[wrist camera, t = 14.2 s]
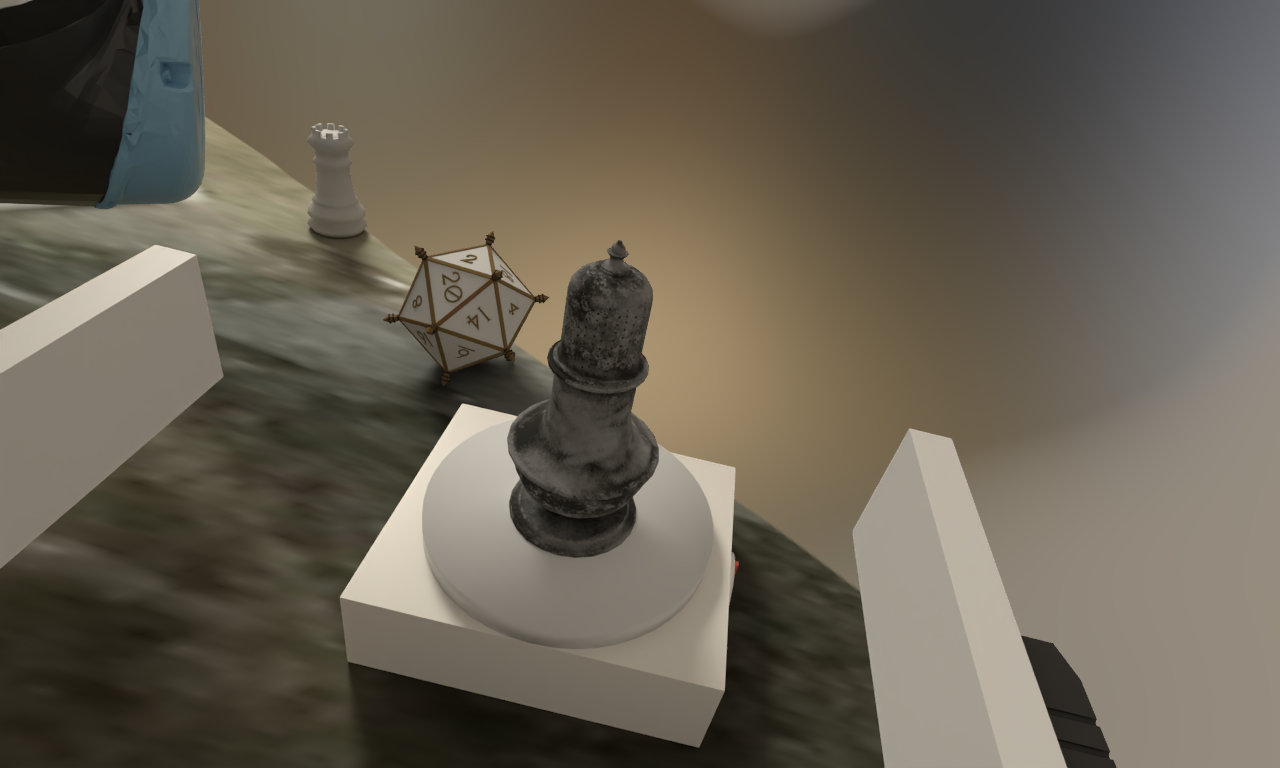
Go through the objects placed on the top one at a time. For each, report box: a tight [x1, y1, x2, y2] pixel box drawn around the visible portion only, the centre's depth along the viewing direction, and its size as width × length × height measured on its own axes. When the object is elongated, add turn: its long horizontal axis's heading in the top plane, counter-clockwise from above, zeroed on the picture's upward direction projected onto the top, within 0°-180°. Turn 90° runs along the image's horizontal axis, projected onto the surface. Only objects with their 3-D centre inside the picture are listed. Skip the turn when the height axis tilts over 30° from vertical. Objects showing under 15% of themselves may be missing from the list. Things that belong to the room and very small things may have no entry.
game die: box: [383, 232, 549, 386], centre depth 41 cm, size 9×8×10 cm
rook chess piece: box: [307, 123, 367, 238], centre depth 53 cm, size 4×4×8 cm
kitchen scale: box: [340, 403, 739, 748], centre depth 30 cm, size 14×12×5 cm
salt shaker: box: [507, 240, 659, 558], centre depth 25 cm, size 6×6×12 cm
